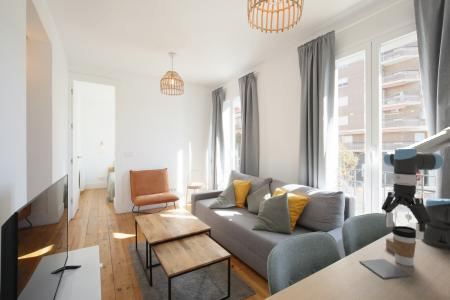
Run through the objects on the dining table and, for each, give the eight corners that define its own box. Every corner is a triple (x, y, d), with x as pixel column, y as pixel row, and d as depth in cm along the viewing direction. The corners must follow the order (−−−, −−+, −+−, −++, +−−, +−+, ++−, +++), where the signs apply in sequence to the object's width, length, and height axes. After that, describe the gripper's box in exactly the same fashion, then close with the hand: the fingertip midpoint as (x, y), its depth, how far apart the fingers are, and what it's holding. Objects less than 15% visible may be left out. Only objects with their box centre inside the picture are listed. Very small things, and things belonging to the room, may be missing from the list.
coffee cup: (421, 268, 90) (422, 232, 90) (398, 266, 92) (398, 231, 91) (409, 258, 98) (409, 225, 98) (387, 256, 100) (388, 224, 100)
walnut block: (394, 247, 108) (394, 237, 108) (404, 252, 104) (404, 242, 103) (386, 248, 108) (386, 238, 108) (395, 253, 103) (395, 243, 103)
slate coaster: (383, 260, 97) (383, 258, 97) (410, 275, 85) (410, 274, 85) (359, 262, 95) (359, 260, 95) (383, 278, 83) (383, 277, 83)
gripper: (373, 179, 106) (372, 222, 106) (427, 189, 81) (426, 245, 82) (386, 179, 107) (386, 222, 107) (444, 189, 82) (443, 244, 83)
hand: (403, 232), depth 95 cm, fingers open, 13 cm apart
